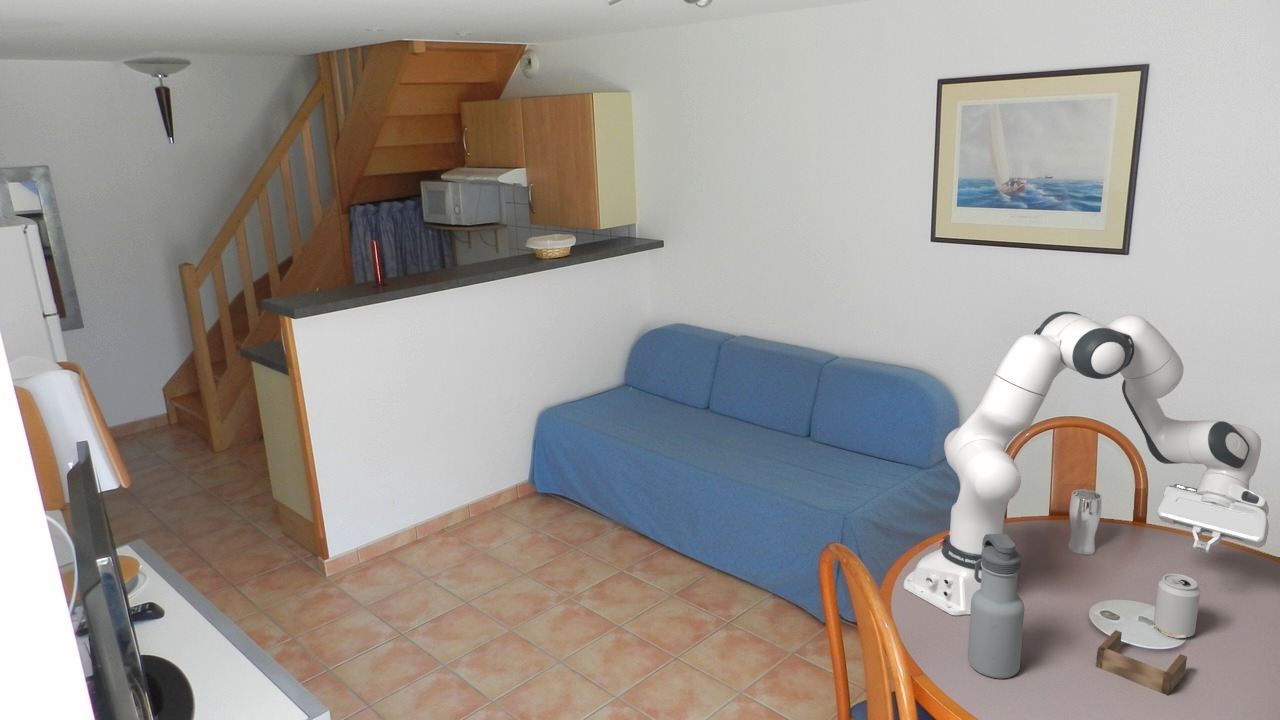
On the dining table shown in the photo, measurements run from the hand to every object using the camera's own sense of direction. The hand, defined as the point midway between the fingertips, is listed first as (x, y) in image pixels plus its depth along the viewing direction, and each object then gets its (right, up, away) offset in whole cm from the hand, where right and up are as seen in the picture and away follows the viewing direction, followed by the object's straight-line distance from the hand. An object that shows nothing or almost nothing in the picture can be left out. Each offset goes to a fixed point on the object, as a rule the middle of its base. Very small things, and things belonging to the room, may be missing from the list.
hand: (1200, 550), depth 184 cm
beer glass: (-10, -7, +31) cm, 33 cm away
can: (-8, -16, -4) cm, 19 cm away
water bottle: (-50, -21, -12) cm, 55 cm away
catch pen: (-22, -20, -15) cm, 33 cm away
